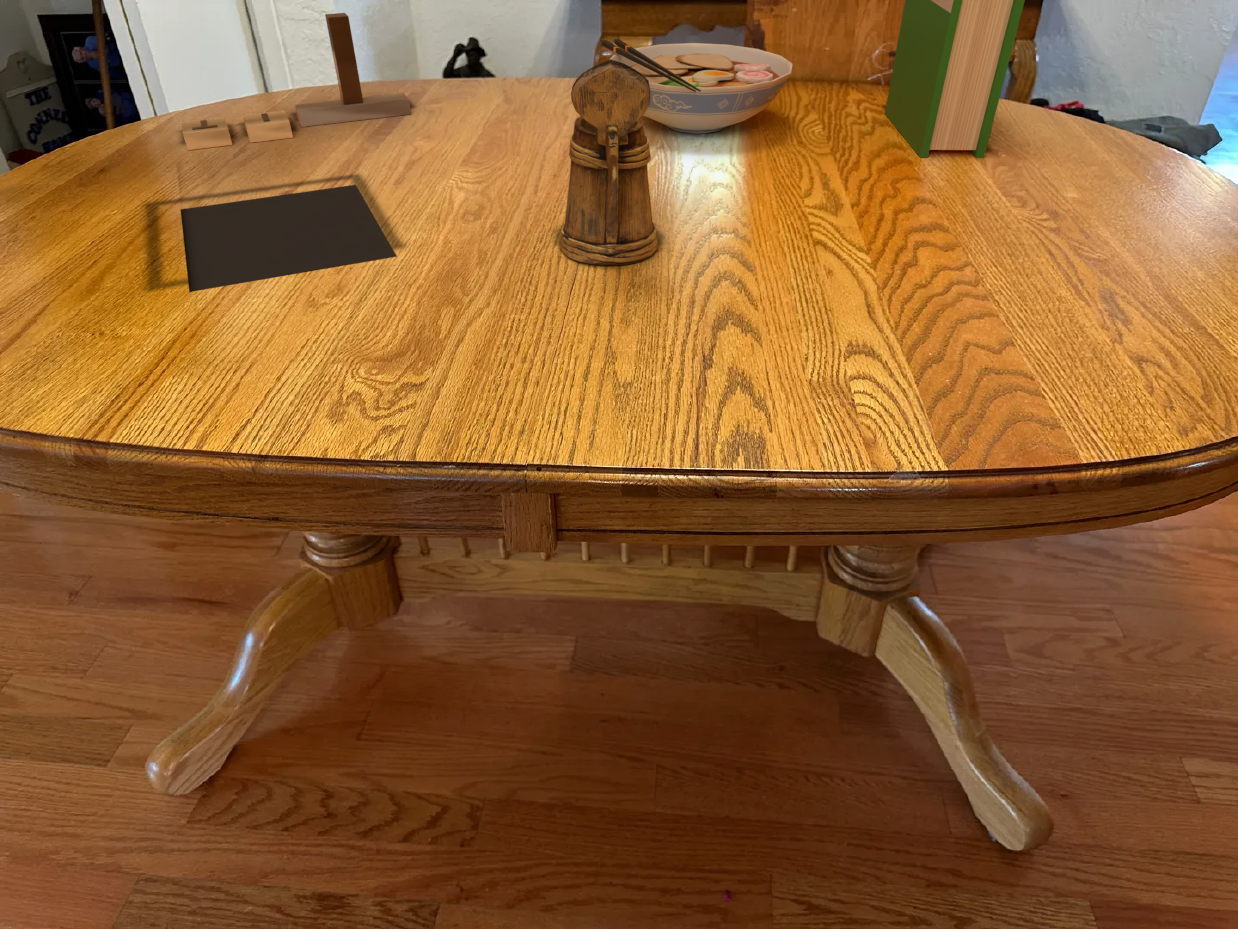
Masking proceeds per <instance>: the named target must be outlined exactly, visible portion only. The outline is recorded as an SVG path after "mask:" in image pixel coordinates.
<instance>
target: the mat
mask: <svg viewBox="0 0 1238 929" xmlns="http://www.w3.org/2000/svg"><path fill="white" fill-rule="evenodd" d="M180 219H181V228H182V236H183V245H184V246H183V247H184V256H185V265H186V274H187V285H188V293H193V292H196V291H197V292H198V291H204V290H209V289H216V288H221V287H226V286H233V285H239V284H245V283H251V282H257V281H262V280H269V279H275V278H279V277H285V276H292V275H297V274H303V273H309V272H314V271H315V272H316V271H321V270H326V269H327V270H328V269H332V268H339V267H344V266H350V265H355V264H362V263H367V262H372V261H374V262H375V261H381V260H384V259H385V260H386V259H392V258H396V257H398V255H397V254H396V253H395V251H394V249H393V247H392V245H391V244H390V241H389V240H388V239H387V237H386V235H385V233H384V232H383V229H382V228H381V227H380V226H381V225H380V224H379V222H378V221H377V219H376V217H375V216H374V214H373V213H372V210H371V209H370V207H369V205H368V203H367V202H366V200H365V198H364V196H363V194H362V193H361V192H360V190H359V187H358V185H357V184H350V185H343V186H336V187H329V188H322V189H315V190H307V191H301V192H294V193H287V194H286V193H285V194H279V195H273V196H267V197H265V196H264V197H258V198H252V199H251V198H250V199H243V200H237V201H230V202H221V203H216V204H210V205H202V206H194V207H187V208H181V209H180Z"/></svg>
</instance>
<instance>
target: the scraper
mask: <svg viewBox="0 0 1238 929" xmlns="http://www.w3.org/2000/svg"><path fill="white" fill-rule="evenodd" d="M324 16H325V22H326V26H327V31H328V37H329V42H330V43H329V44H330V48H331V52H332V58H333V64H334V68H335V74H336V80H337V85H338V90H339V95H340V96H339V97H340V99H335V100H327V101H316V102H309V103H299V104H294V109H295V113H296V117H297V121H298V123H299V125H300V127H301V128H305V127H306V128H307V127H314V126H323V125H331V124H340V123H348V122H349V123H350V122H357V121H365V120H375V119H382V118H391V117H392V118H393V117H400V116H408V115H412V111H411V105H410V104H411V103H410V98H409V97H408V96H407V94H405V92H401V93H392V94H391V93H389V94H381V95H372V96H363V93H362V92H363V91H362V87H361V81H360V75H359V69H358V63H357V58H356V52H355V47H354V46H355V45H354V40H353V35H352V34H353V33H352V29H351V24H350V18H349V17H350V16H349V15H348V14H347V13H346V12H337V13H325V14H324Z"/></svg>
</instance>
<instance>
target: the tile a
mask: <svg viewBox="0 0 1238 929" xmlns="http://www.w3.org/2000/svg"><path fill="white" fill-rule="evenodd" d="M180 124H181V131H182V136H183V139H184V142H185V146H186V149H187V151H193V150H202V149H211V148H218V147H227V146H233V141H232V137H231V134H230V133H231V132H230V130H229V126H228V122H227V119H226V117H225V116H221V117H211V118H204V119H203V118H202V119H194V120H184V121H181V123H180Z"/></svg>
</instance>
